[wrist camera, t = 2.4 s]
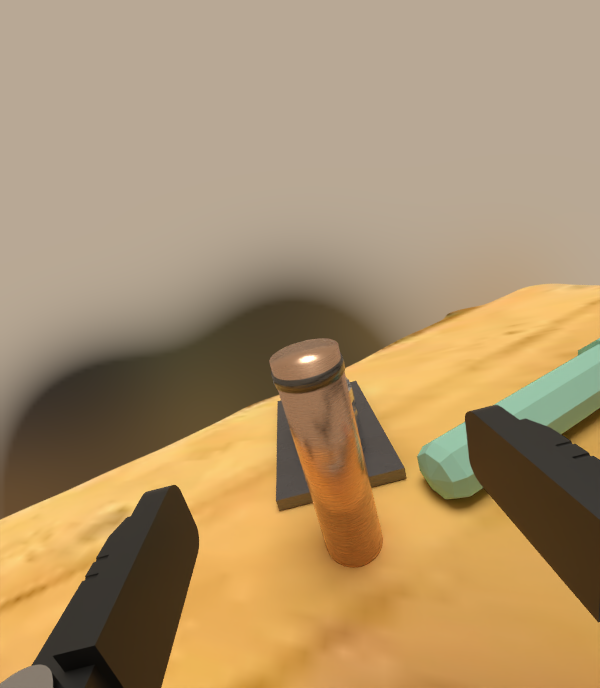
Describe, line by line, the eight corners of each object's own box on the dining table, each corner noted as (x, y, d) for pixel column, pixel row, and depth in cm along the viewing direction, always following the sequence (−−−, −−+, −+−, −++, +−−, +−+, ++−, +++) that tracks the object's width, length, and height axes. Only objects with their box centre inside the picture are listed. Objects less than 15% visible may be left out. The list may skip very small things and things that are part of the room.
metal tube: (374, 507, 27) (333, 332, 22) (392, 559, 22) (346, 354, 17) (321, 521, 27) (268, 349, 22) (329, 575, 22) (266, 376, 17)
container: (439, 450, 23) (637, 331, 30) (395, 440, 28) (571, 341, 36) (473, 528, 22) (665, 388, 30) (422, 501, 28) (594, 390, 35)
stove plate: (357, 387, 47) (349, 351, 45) (406, 478, 29) (396, 423, 27) (279, 408, 47) (268, 372, 45) (279, 510, 29) (261, 458, 27)
